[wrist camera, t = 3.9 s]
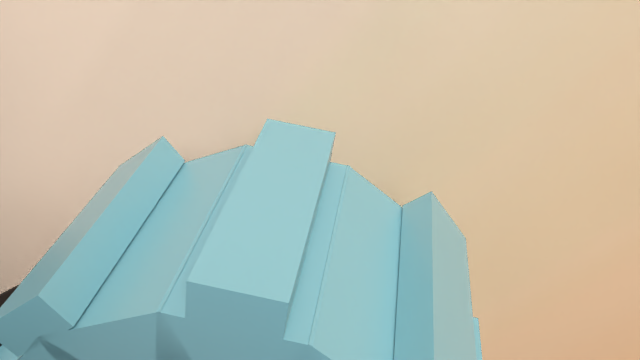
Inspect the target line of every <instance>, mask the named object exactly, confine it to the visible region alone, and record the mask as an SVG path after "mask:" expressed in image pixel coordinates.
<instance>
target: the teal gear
mask: <svg viewBox="0 0 640 360" xmlns="http://www.w3.org/2000/svg"><path fill="white" fill-rule="evenodd" d="M334 139H335V132H330V131H325V130H320V129H315V128H310V127H305V126H300V125H295V124H290V123H285V122H281V121H276V120H271V119H267V121H266V123H265V125H264V127H263V129H262V131H261V133H260V135H259V137H258V139H257V141H256V143H255V145H254V146H249V145H244V146H240V147H237V148H233V149H230V150H226V151H223V152H220V153H216V154H213V155H209V156H206V157H202V158H199V159H196V160H192V161H189V162H185V160H184V159H183V158H182V157H181V156H180V154H179V153H178V152H177V151H176V150H175V149H174V148H173V147H172V146H171V145H170V143H169V142H168V141H167V140H166V139H165V138H164V137H163V136H162V137H161V138H159V139H158V140H157V141H155V142H154V143H152V144H151V145H149V146H148V147H146V148H145V149H143V150H142V151H141V152H139V153H138V154H136V155H135V156H133V157H132V158H130V159H129V160H127V161H126V162H125V163H123V164H122V165H120V166H119V167H118V168H117V169H116V171H115V172H114V173H113V174H112V175H111V177H110V178H109V179H108V180H107V181H106V183H105V184H104V185H103V186H102V187H101V188H100V190H99V191H98V192H97V193H96V194H95V196H94V197H93V198H92V199H91V200H90V202H89V203H88V204H87V205H86V206H85V208H84V209H83V210H82V211H81V212H80V213H79V215H78V216H77V217H76V218H75V219H74V221H73V222H72V223H71V224H70V225H69V227H68V228H67V229H66V230H65V231H64V232H63V234H62V235H61V236H60V237H59V238H58V240H57V241H56V242H55V243H54V244H53V246H52V247H51V248H50V249H49V250H48V251H47V253H46V254H45V255H44V256H43V257H42V259H41V260H40V261H39V262H38V263H37V265H36V266H35V267H34V268H33V269H32V271H31V272H30V273H29V274H28V275H27V276H26V278H25V279H24V280H23V281H22V282H21V284H20V285H19V286H18V287H17V288H16V290H15V291H14V292H13V293H12V294H11V295H10V297H9V298H8V299H7V300H6V301H5V303H4V304H3V305H2V306H1V307H0V343H1V344H2V346H1V347H0V360H482V352H481V342H480V332H479V322H478V318H475V317H473V313H472V302H471V291H470V280H469V269H468V258H467V247H466V238H465V237H464V235H463V234H462V233H461V231H460V230H459V228H458V227H457V226H456V224H455V223H454V222H453V220H452V219H451V217H450V216H449V215H448V213H447V212H446V211H445V209H444V208H443V206H442V205H441V204H440V202H439V201H438V200H437V198H436V197H435V195H434V194H433V193H432V191H431V192H429V193H427V194H425V195H423V196H421V197H419V198H417V199H415V200H413V201H411V202H409V203H407V204H405V205H403V208H402V207H401V206H400V205H398V204H397V203H396V202H394V201H393V200H392V199H391V198H389V197H388V196H387V195H385V194H384V193H383V192H382V191H380V190H379V189H378V188H376V187H375V186H374V185H373V184H371V183H370V182H369V181H367V180H366V179H365V178H364V177H362V176H361V175H360V174H358V173H357V172H356V171H355V170H353V169H352V168H351V167H350V166H348V165H342V164H337V163H332V162H330V160H331V155H332V150H333V144H334ZM184 162H185V163H184Z"/></svg>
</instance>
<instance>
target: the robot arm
mask: <svg viewBox="0 0 640 360" xmlns="http://www.w3.org/2000/svg"><path fill="white" fill-rule="evenodd" d="M18 286H19V285H17V286H15V287H13V288H11V289H9V290H8V291H6V292H4V293H2V294H0V307H1V306H2V305H3V304H4V303H5V301H6V300H7V299H8V298H9V297H10V295H11V294H12V293H13V292H14V291H15V290H16V288H17V287H18ZM1 346H2V344H1V343H0V347H1Z"/></svg>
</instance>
